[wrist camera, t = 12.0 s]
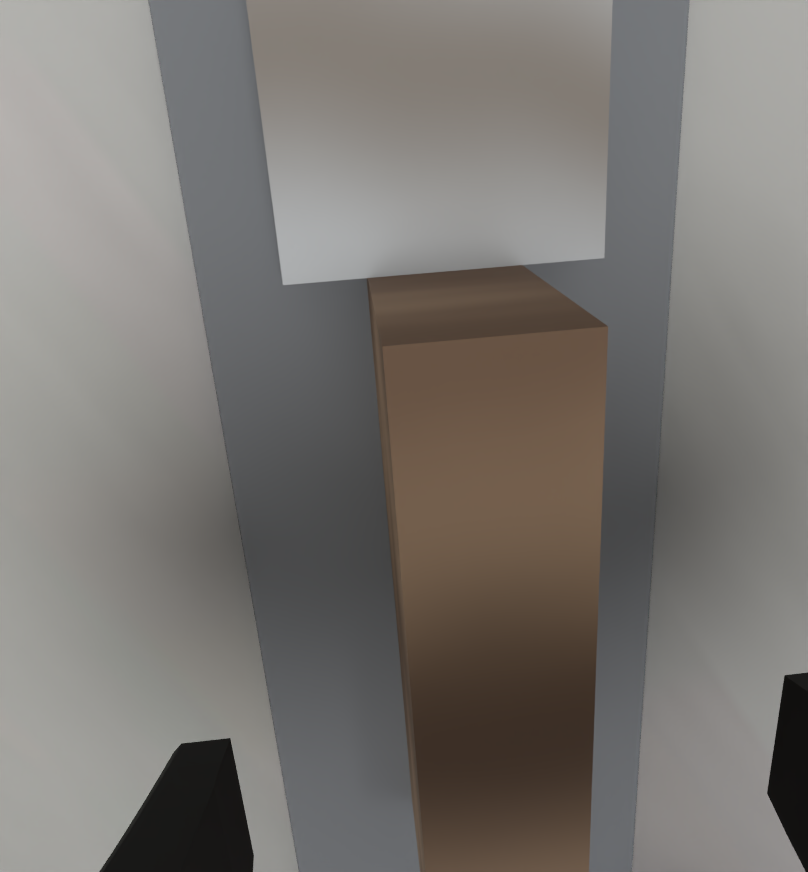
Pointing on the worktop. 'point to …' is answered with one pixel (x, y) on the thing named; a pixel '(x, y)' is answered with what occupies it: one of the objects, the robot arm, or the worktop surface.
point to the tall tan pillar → (467, 373)
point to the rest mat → (361, 444)
